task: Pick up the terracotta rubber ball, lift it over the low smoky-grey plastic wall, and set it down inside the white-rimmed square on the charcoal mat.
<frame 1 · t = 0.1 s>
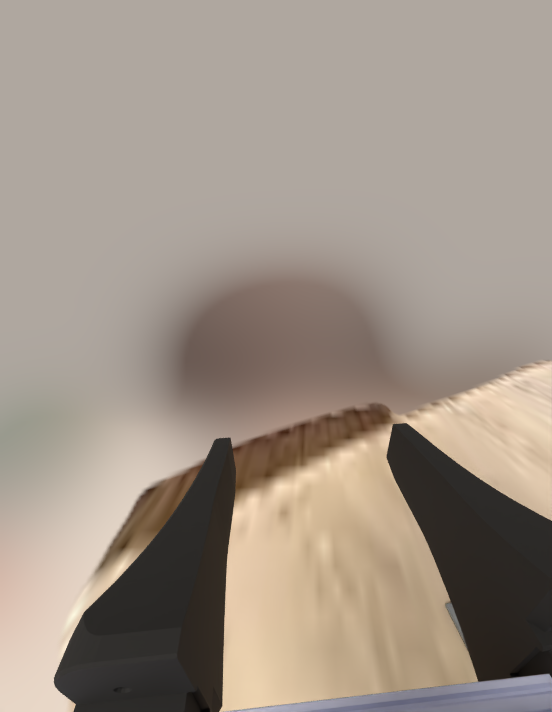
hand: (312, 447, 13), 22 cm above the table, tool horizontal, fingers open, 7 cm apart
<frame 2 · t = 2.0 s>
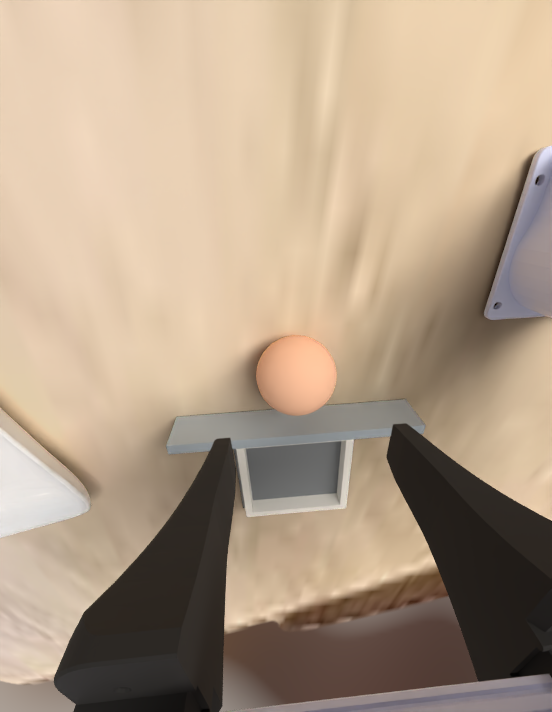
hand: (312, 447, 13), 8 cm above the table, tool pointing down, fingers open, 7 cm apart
low wall: (292, 411, 23), on the table
ball: (296, 375, 18), point 2 cm above the table
resting mat: (294, 464, 25), on the table
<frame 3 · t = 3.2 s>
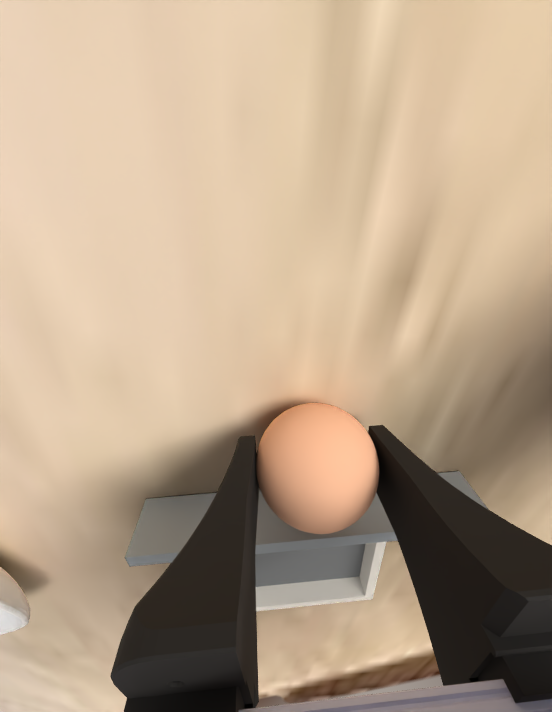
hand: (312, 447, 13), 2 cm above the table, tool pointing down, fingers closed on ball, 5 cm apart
low wall: (305, 489, 16), on the table
ball: (315, 463, 12), point 2 cm above the table, touching gripper
resting mat: (305, 547, 19), on the table
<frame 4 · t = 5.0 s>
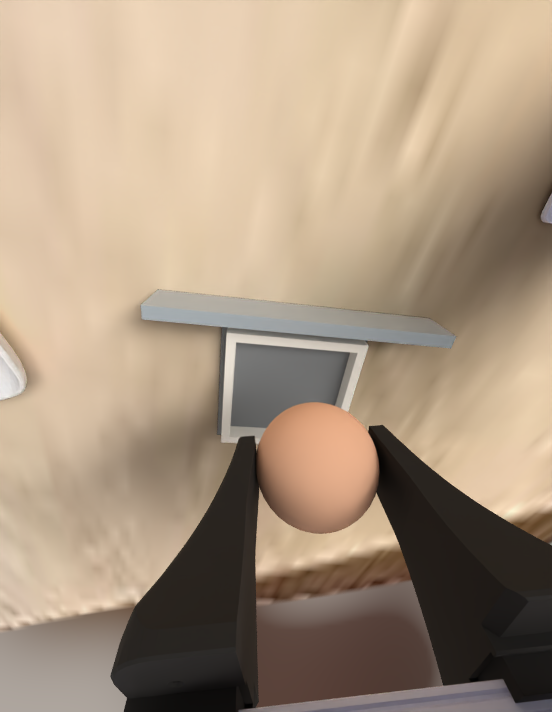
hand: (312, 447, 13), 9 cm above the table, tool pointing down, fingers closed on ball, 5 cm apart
low wall: (300, 310, 19), on the table
ball: (315, 462, 12), point 10 cm above the table, touching gripper
resting mat: (286, 385, 22), on the table
when the fingers open (3 cm above the table, at t = 6.7 s): ball drops 1 cm, resting on resting mat.
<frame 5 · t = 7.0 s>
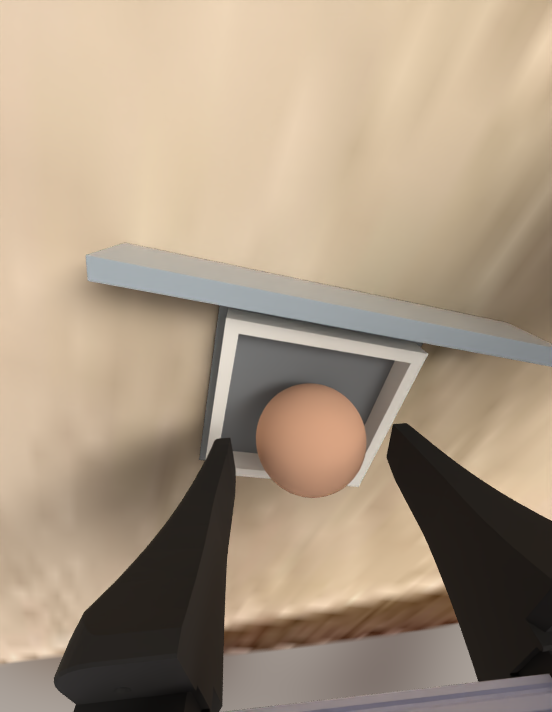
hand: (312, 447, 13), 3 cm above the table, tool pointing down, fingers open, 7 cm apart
low wall: (334, 295, 13), on the table
ball: (309, 437, 13), point 3 cm above the table, touching resting mat
resting mat: (301, 400, 16), on the table
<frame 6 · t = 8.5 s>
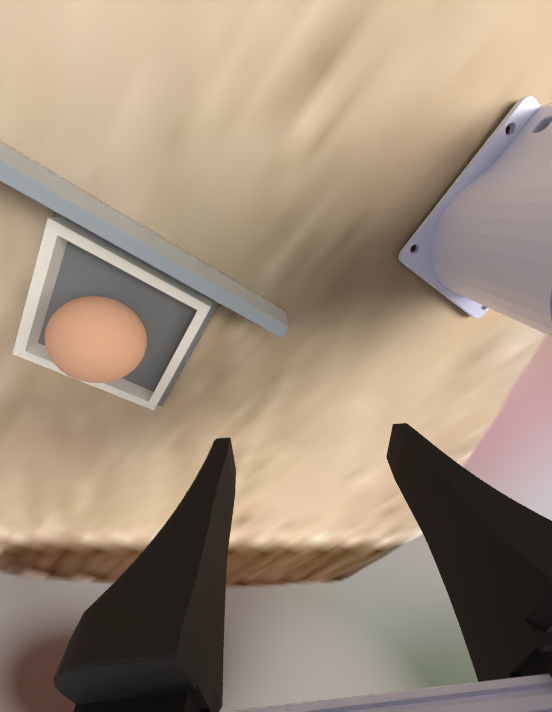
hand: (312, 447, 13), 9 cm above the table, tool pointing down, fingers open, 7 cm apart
low wall: (154, 240, 17), on the table
ball: (99, 339, 17), point 3 cm above the table, touching resting mat
resting mat: (119, 322, 19), on the table
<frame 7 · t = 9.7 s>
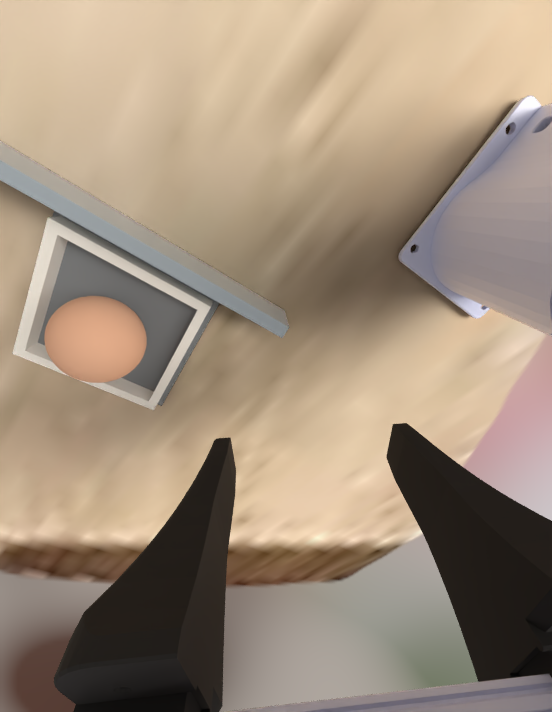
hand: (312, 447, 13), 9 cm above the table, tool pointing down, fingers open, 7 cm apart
low wall: (154, 240, 17), on the table
ball: (99, 339, 17), point 3 cm above the table, touching resting mat
resting mat: (119, 321, 19), on the table
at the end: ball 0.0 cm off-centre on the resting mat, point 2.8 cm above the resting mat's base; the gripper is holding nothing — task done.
